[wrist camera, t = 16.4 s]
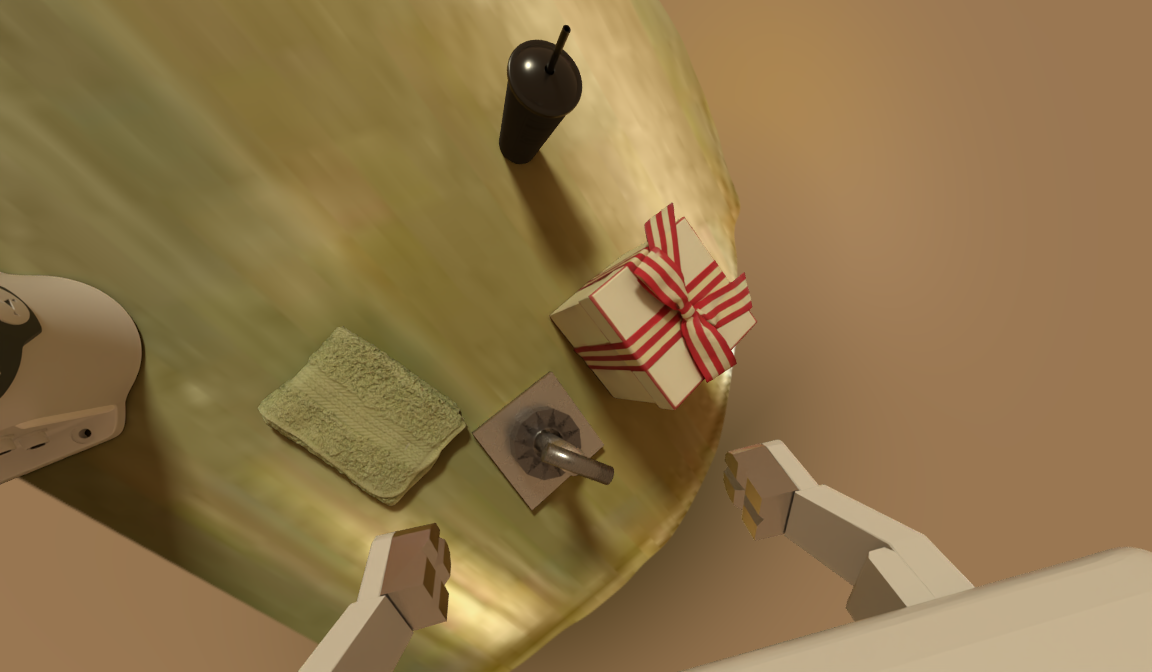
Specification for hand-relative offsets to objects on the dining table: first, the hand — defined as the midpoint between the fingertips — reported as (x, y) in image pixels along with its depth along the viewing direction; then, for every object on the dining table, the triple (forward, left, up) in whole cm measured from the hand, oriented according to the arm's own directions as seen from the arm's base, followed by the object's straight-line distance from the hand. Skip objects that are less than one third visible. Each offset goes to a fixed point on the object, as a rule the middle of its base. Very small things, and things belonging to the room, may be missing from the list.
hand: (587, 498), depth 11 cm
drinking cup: (+24, +22, -41) cm, 52 cm away
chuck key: (+4, -10, -40) cm, 41 cm away
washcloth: (-9, +4, -41) cm, 42 cm away
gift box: (+23, -4, -41) cm, 47 cm away
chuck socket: (+4, -10, -41) cm, 42 cm away
